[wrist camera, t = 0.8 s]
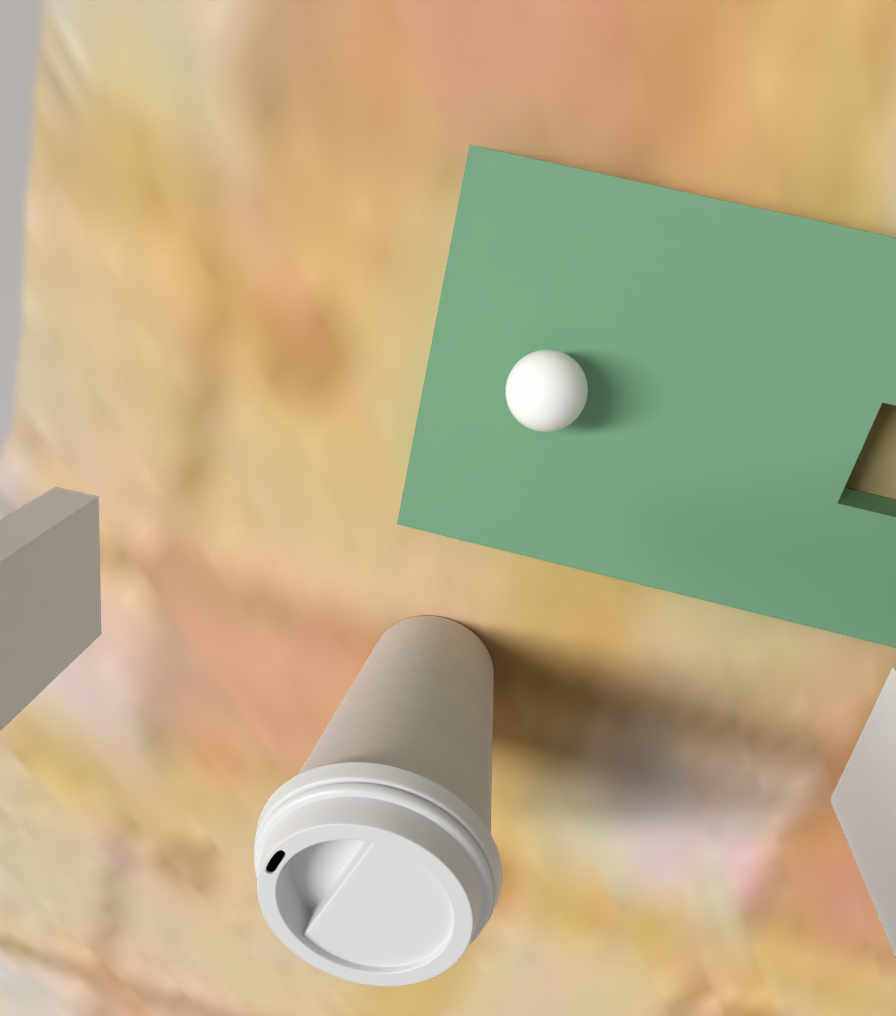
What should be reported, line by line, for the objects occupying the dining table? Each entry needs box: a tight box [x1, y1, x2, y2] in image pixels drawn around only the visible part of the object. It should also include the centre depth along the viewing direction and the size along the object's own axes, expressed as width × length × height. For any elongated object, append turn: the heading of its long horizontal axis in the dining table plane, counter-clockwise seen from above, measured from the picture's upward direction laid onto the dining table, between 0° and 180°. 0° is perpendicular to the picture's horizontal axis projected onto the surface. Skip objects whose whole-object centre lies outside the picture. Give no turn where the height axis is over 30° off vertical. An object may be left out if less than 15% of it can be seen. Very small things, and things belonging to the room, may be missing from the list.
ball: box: [506, 350, 588, 432], centre depth 31 cm, size 3×3×3 cm
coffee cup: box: [254, 616, 502, 986], centre depth 35 cm, size 10×10×15 cm
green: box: [397, 145, 896, 648], centre depth 32 cm, size 16×26×5 cm, turn 79°
